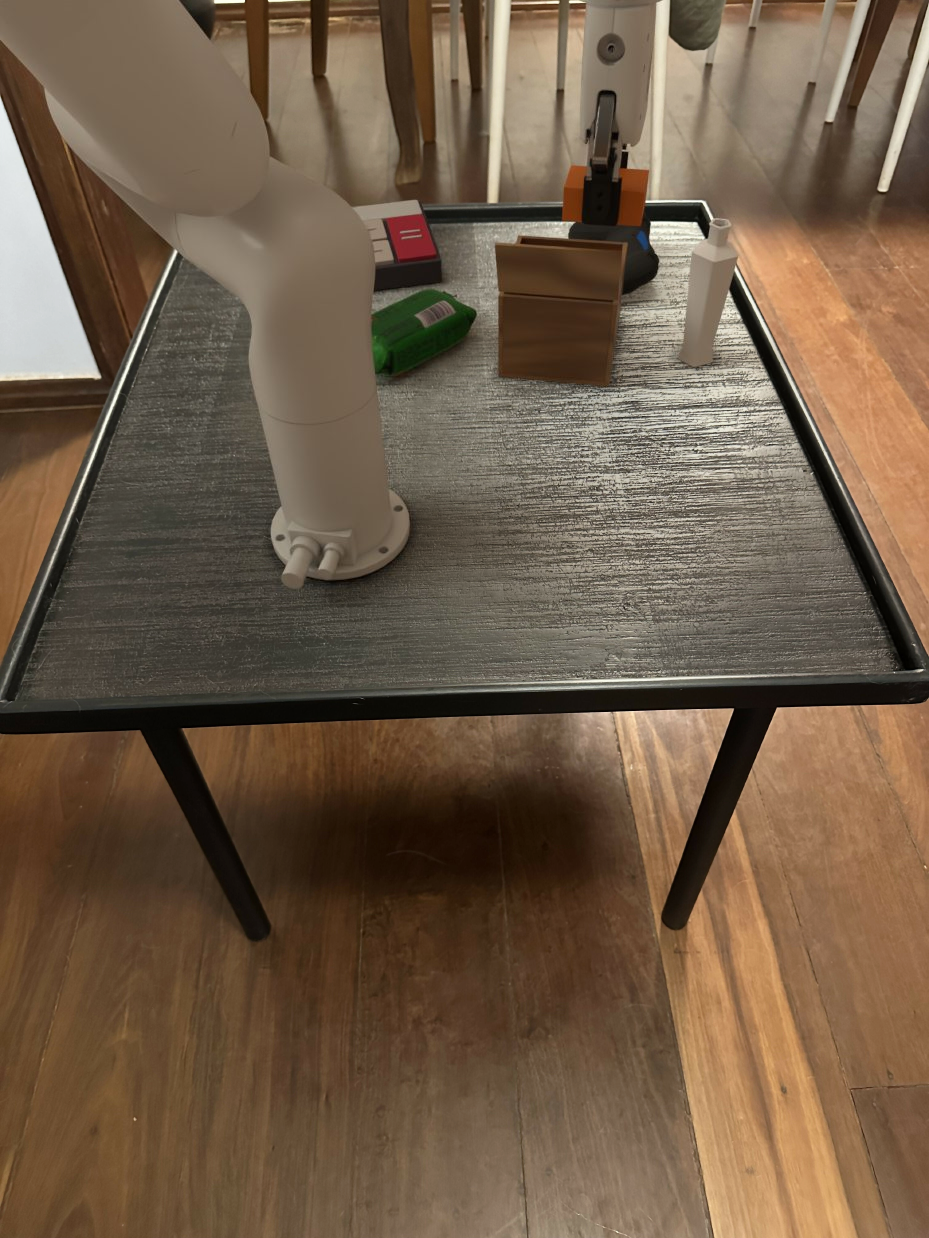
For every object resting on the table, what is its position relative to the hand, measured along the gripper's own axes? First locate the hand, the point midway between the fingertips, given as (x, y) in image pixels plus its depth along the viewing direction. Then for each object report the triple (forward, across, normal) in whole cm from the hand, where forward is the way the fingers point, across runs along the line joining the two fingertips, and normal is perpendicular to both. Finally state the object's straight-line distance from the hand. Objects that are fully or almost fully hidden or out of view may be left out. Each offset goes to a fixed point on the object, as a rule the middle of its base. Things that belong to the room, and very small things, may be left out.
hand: (603, 207), depth 83 cm
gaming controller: (+20, +24, 0) cm, 32 cm away
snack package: (+20, +4, +20) cm, 28 cm away
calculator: (+20, +24, +29) cm, 42 cm away
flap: (+6, 0, +4) cm, 7 cm away
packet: (0, 0, 0) cm, 0 cm away
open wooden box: (+20, +7, +4) cm, 21 cm away
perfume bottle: (+20, +8, -11) cm, 24 cm away
